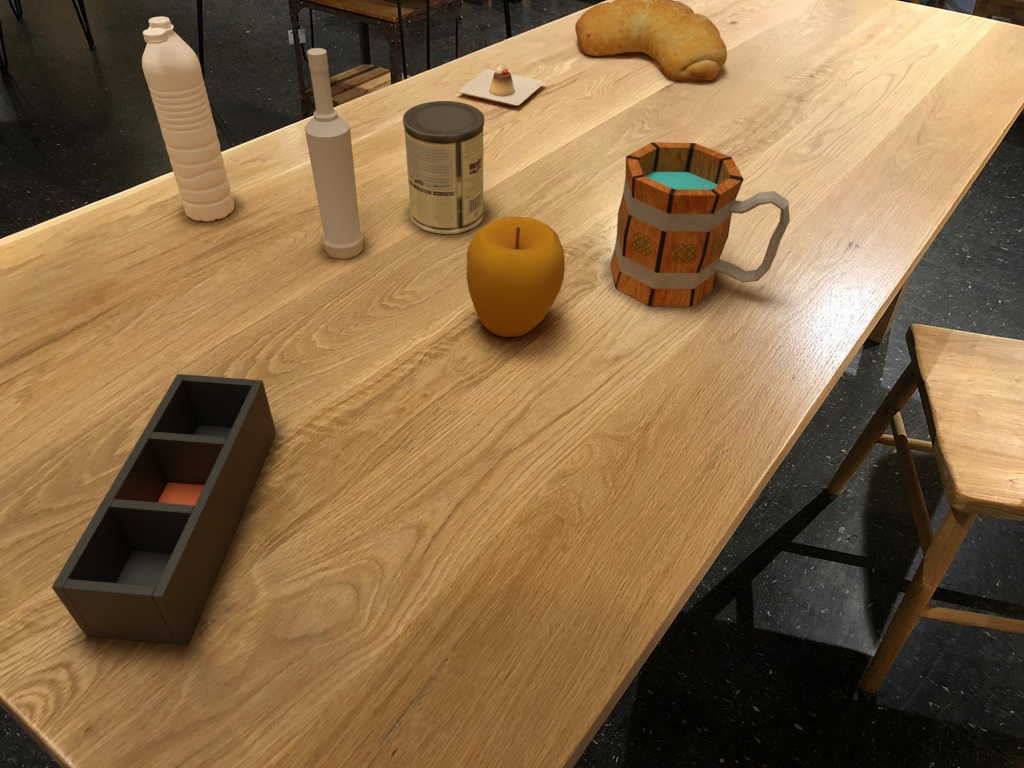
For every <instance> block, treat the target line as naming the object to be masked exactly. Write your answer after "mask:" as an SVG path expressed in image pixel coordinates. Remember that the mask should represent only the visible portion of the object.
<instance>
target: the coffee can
mask: <svg viewBox="0 0 1024 768" xmlns="http://www.w3.org/2000/svg"><path fill="white" fill-rule="evenodd" d="M402 124H403V128H404V141H405V153H406V167H407V181H408V182H407V183H408V193H409V194H408V195H409V206H410V207H409V208H410V213H409V217H410V220H411V221H412V223H413V224H414V225H415V226H416V227H418V229H421V230H423V231H425V232H429V233H433V234H438V235H455V234H456V235H457V234H460V233H461V234H462V233H465V232H468V231H471V230H472V229H474V228H476V227H478V226H479V225H480V224H481V222H482V221H483V219H484V215H485V213H484V156H485V155H484V126H485V115H484V113H483V112H482V111H481V110H480V109H479V108H477V107H475V106H473V105H471V104H468V103H464V102H459V101H453V100H435V101H428V102H423V103H420V104H416V105H413V106H412V107H410V108H409V109H408V110H406V111H405V112H404V114H403V116H402Z"/></svg>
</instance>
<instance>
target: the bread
mask: <svg viewBox="0 0 1024 768" xmlns="http://www.w3.org/2000/svg"><path fill="white" fill-rule="evenodd" d="M574 26H575V27H574V29H575V34H576V39H577V42H578V45H579V46H580V48H581V50H582V52H583V53H584V54H585V55H589V56H593V57H603V56H616V55H625V54H631V53H644V54H646V55H647V56H649V57H651V58H652V59H654V60H655V61H656V62H658V64H659V65H660V67H661V70H662V73H663V74H664V76H665V77H666V78H668V79H670V80H672V81H682V80H690V79H696V80H702V81H712V80H714V79H715V78H716V77H717V75H718V73H719V71H720V69H722V68H723V67H724V66H725V64H726V62H727V59H728V50H727V49H728V48H727V46H726V44H725V41H724V40H723V38H722V37H721V33H720V31H719V29H718V28H717V26H716V25H715V24H714V23H713V21H712V20H711V19H709V18H708V17H707V16H706V15H704V14H703V13H702V14H701V13H695V12H694V10H693V9H692V8H691V7H690V6H689V5H688V4H686V3H683V2H681V1H677V0H613V1H611V2H600V3H598V4H596V5H593V6H592V7H590V8H588V9H587V10H585V11H584V12H582V14H581V15H580V17H579V18H578V19H577V20H576V21H575V25H574Z"/></svg>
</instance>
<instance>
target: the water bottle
mask: <svg viewBox="0 0 1024 768" xmlns="http://www.w3.org/2000/svg"><path fill="white" fill-rule="evenodd" d="M148 24H149V27H148V28H147V29H145V30H143V31H142V35H143V39H144V42H145V43H146V46H145V48H144V51H143V54H142V57H141V68H142V71H143V75H144V78H145V81H146V83H147V87H148V90H149V92H150V93H149V94H150V97H151V100H152V104H153V107H154V111H155V114H156V117H157V121H158V124H159V128H160V131H161V132H160V133H161V135H162V138H163V141H164V143H165V149H166V152H167V156H168V157H169V162H170V165H171V168H172V172H173V175H174V178H175V179H174V180H175V182H176V183H177V189H178V193H179V195H180V197H181V204H182V206H183V210H184V213H185V214H186V216H187V217H188V218H190V219H191V220H193V221H196V222H201V221H202V222H214V221H216V220H222V219H224V218H226V217H228V215H230V214H232V213H233V211H234V210H235V200H234V196H233V194H232V193H233V192H232V190H231V186H230V181H229V177H228V176H227V175H228V174H227V168H226V165H225V163H224V162H225V161H224V156H223V153H222V150H221V144H220V140H219V138H218V135H217V133H218V132H217V128H216V125H215V119H214V118H213V112H212V108H211V105H210V100H209V99H208V97H209V96H208V93H207V88H206V86H205V81H204V77H203V72H202V66H201V63H200V60H199V58H198V55H197V54H196V53H195V51H194V50H193V48H192V47H190V45H189V44H188V43H187V42H186V41H184V40H183V38H181V36H179V35H178V33H176V32H175V31H174V25H173V24H172V23H171V20H170V18H169V17H168V16H154V17H151V18H149V19H148Z"/></svg>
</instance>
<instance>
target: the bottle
mask: <svg viewBox="0 0 1024 768" xmlns="http://www.w3.org/2000/svg"><path fill="white" fill-rule="evenodd" d="M327 53H328V52H327V49H324V48H321V47H313V48H310V49H308V50H307V51H306V54H307V59H308V67H309V71H310V76H311V77H310V78H311V85H312V91H313V99H314V106H315V111H313V117H312V118H311V119H310V120H309V121H308V122H307V123H306V124H305V126H304V133H305V138H306V143H307V149H308V155H309V160H310V165H311V166H310V167H311V171H312V175H313V176H312V177H313V182H314V188H315V193H316V198H317V199H316V200H317V204H318V209H319V214H320V215H319V216H320V221H321V226H322V231H323V235H322V238H321V239H322V244H323V248H324V251H325V253H326V254H327V255H328V256H329V257H331V258H334V259H339V260H347V259H352V258H354V257H357V256H358V255H359V254H361V253H362V251H363V248H364V236H363V232H362V231H361V227H360V215H359V206H358V195H357V185H356V183H357V182H356V173H355V166H354V154H353V143H352V133H351V125H350V123H349V122H348V121H346V120H345V119H344V118H342V117H341V116H339V115H338V111H337V110H335V109H334V102H333V97H332V96H333V95H332V89H331V88H332V87H331V80H330V73H329V63H328V54H327Z"/></svg>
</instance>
